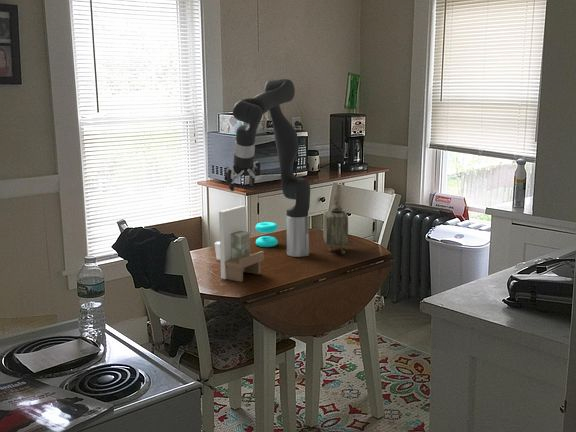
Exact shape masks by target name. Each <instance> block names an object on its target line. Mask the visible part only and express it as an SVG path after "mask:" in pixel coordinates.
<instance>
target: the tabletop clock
mask: <svg viewBox="0 0 576 432" xmlns="http://www.w3.org/2000/svg"><path fill="white" fill-rule="evenodd" d="M338 204H339V198H338V195H337V194H335V195H334V205H332V206H331V208H330V210H327V211H325V212H323V216H322V220H323V221H322V222H323V223H322V224H323V225H322V229H323V230H322V236H323V240H324V243H325V244H326V245H328V246H330V247H329V248H328V251H329V252H332V251H333V246H337V248H338V249H340V250H341V252H340V253H341V255H345V253H346V251H345V250H343V247H342V246H348V244H349V215H348V213H347V211H346V210H345V209H344V210H343V209H342V207H341V206H340V205H338Z"/></svg>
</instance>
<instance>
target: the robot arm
mask: <svg viewBox="0 0 576 432" xmlns="http://www.w3.org/2000/svg"><path fill="white" fill-rule="evenodd" d="M295 91H296V90H295V85H294V83H293V81H292V80H291V79H289V78H288V79H287V78H279V79H270V80H267V81H266V82H265V84H264V92H262V93H259V94H257V95H255V96H254V97H252V98H244V99H240V100H238V101H237V102H236V103H235V104H234V105H233V108H232V116H233V118H234V119H236V120H237V121H239V122H243V123H245V124H240V125H239V126H237V128H236V131H235V132H236V134H235V144H234V148H233V149H234V151H233V166H232V167H229V166H226V167H225V171H224V178H223V179H224V181H225V182H226V183H227V184H228V189H229V190H230V191H231V192H234V191H235V182H236V181H237V180H239V178H240V177H243V176H248V175H249V178H248V184H249V185H250V186H251V187H253V186H254V185H255V182H256V181H255V180H256V177H257V176H258V177H259V176H260V175H261V162H260V161H259V160H257V159H255V151H256V134H257V130H258V127H259V125H260V122H261V121H262V119H263V115H264V114H266V113H267V112H269V116H270V118H271V123H272V129H273V134H274V141H275V146H276V151H277V156H278V163H279V168H280V169H279V170H280V181H281V184H280V185H281V191H282V193H283V196H284V197H285V198H286V199H289V200H294V201H295V202H294V203H295V205H294V206H290V207H288V208H287V209H286V255H287V256H289V257H293V258H296V257H297V258H299V257H307V256H308V257H309V256H310V234H309V210H310V202H311V184H310V181H309V180H308V179H306V178H301V177H295V174H294V162H295V159H297V155H298V153H299V150H300V147H299V146H300V145H299V139H298V133H297V131H296V129H295V127H294V126H293V125H292V124H291V122H290V121H289V120H288V119H287V118H286V117H285V115H284V113H283V112H282V109H281V107H280V106H281V104H282V105H283V104H285V103H289V102H291V101H292V100H293V99H294V97H295V94H296V92H295ZM252 170H253V171H252Z"/></svg>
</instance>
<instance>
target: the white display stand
mask: <svg viewBox="0 0 576 432" xmlns="http://www.w3.org/2000/svg"><path fill="white" fill-rule="evenodd" d="M218 220H219V221H218V222H219V223H218V224H219V229H218V230H219V241H220V260H219V263H220V279H222V280H230V281H235V282H240V283H241V282H243V281H244V273H249V274H253V275H254V274H255V275H260V274H261V262H262V261H264V260H265V256H264V255H265V251H264V250H261V251H258V252H254V253H250V255H249V256H246V257H244V258H241V259H239V260H234V259H232V246H231V233H235V232H238V231H245V232H248V228H247V227H248V226H247V223H248V221H247V205H238V206H235V207H231V208H227V209H223V210H218Z"/></svg>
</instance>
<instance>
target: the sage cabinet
mask: <svg viewBox="0 0 576 432" xmlns="http://www.w3.org/2000/svg"><path fill="white" fill-rule="evenodd" d="M231 246H232V259H234V260H239V259H241V258H244V257H246V256H249V255H250V254H251V235H250V231H247V232H245V231H238V232H235V233H231Z"/></svg>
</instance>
